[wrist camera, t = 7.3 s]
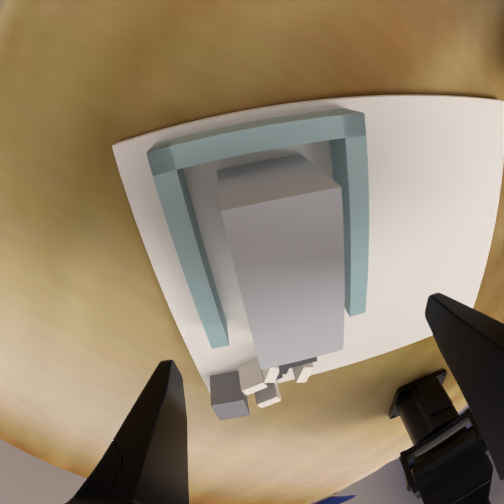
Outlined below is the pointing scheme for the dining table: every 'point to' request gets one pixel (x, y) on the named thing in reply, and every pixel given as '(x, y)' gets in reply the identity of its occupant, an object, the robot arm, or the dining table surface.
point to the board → (380, 218)
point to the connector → (287, 256)
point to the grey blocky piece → (230, 395)
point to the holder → (255, 140)
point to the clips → (267, 381)
